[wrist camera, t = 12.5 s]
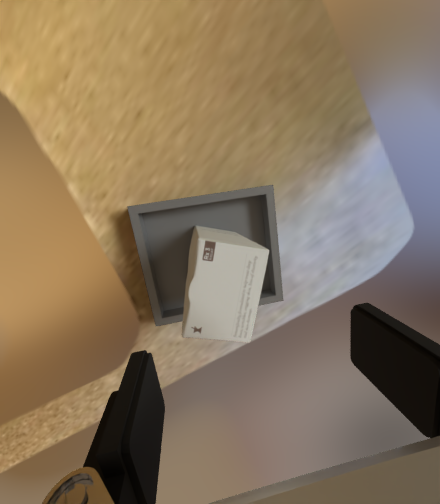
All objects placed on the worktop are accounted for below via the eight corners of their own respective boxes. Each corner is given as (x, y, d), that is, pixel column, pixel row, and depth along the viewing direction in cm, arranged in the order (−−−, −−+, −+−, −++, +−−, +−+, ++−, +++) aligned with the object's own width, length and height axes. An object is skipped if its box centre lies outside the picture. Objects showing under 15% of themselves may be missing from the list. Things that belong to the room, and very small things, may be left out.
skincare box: (224, 285, 33) (253, 349, 19) (183, 280, 32) (179, 344, 18) (235, 228, 31) (276, 250, 17) (192, 221, 30) (196, 238, 16)
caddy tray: (133, 206, 30) (127, 206, 27) (265, 186, 32) (273, 184, 29) (158, 315, 34) (155, 326, 31) (275, 292, 35) (283, 300, 32)
